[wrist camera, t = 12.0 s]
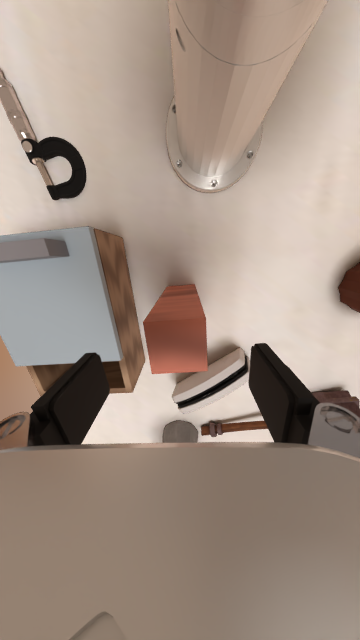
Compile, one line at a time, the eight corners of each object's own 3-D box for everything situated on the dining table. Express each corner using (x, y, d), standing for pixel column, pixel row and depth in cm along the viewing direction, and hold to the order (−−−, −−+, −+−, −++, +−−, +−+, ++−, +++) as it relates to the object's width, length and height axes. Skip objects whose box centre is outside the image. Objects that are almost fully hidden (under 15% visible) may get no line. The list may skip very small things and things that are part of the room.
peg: (167, 286, 30) (142, 322, 13) (194, 284, 30) (205, 317, 13) (170, 312, 32) (151, 373, 15) (196, 310, 32) (207, 371, 15)
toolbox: (31, 246, 29) (-33, 242, 20) (122, 237, 28) (94, 228, 19) (73, 364, 37) (40, 396, 28) (145, 360, 36) (132, 392, 27)
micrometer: (96, 190, 26) (86, 183, 24) (56, 206, 27) (44, 201, 24) (41, 53, 21) (22, 27, 19) (-4, 80, 22) (-28, 58, 20)
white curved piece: (188, 398, 39) (178, 428, 29) (177, 381, 39) (163, 405, 30) (253, 363, 35) (265, 384, 26) (240, 344, 36) (247, 358, 26)
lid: (-36, 241, 20) (-88, 237, 16) (93, 227, 19) (70, 220, 15) (22, 362, 26) (-6, 380, 22) (123, 356, 25) (112, 374, 21)
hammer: (350, 411, 37) (392, 464, 28) (207, 417, 48) (204, 457, 39) (350, 388, 35) (394, 437, 26) (200, 400, 46) (195, 437, 37)
